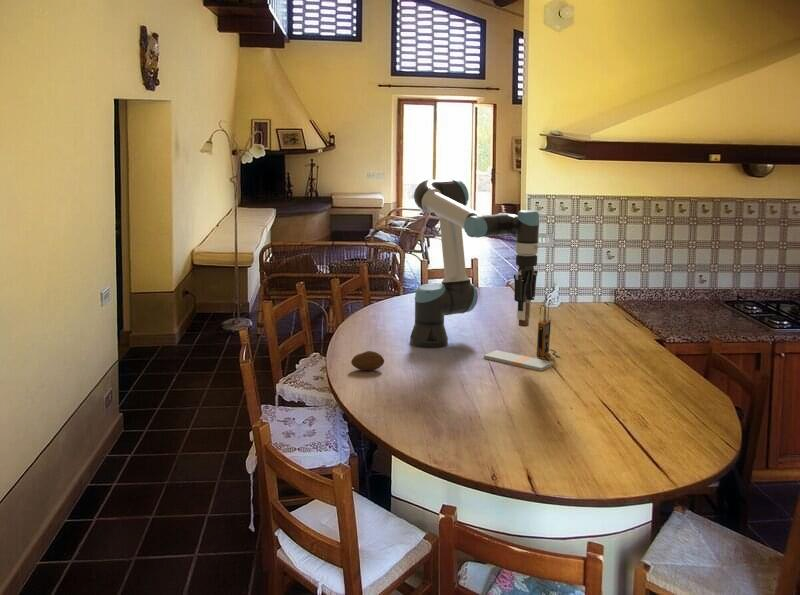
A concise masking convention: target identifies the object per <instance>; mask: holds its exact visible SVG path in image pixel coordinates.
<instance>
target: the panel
mask: <svg viewBox="0 0 800 595" xmlns="http://www.w3.org/2000/svg"><path fill="white" fill-rule="evenodd" d="M483 358H484V359H486V360H488V361H489V360H490V361H495V362H499V363H503V364H507V365H511V366H517V367H521V368H526V369H530V370H535V371H539V372H542V371H544V370H546V369H549V368H550V367H552V366H554V362H553V361H550V360H542V359H540V358H535V357H532V356H531V357H530V356H526V355H521V354H517V353H511V352H508V351H502V350H498V349H496V350H493V351H491V352H488V353H485V354H484V355H483Z"/></svg>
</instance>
